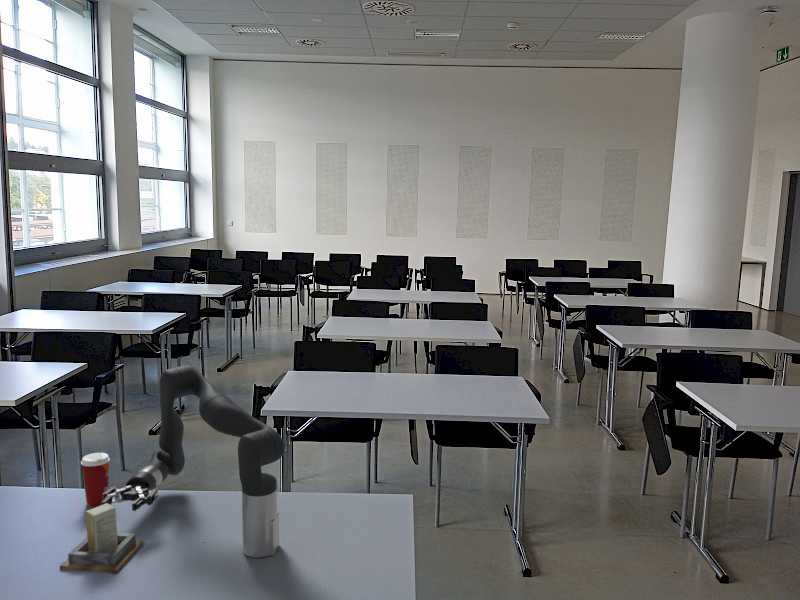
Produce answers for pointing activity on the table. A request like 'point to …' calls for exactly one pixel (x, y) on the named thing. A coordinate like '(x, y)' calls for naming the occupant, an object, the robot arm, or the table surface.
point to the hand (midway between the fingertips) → (118, 506)
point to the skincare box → (102, 529)
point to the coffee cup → (95, 477)
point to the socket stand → (102, 556)
